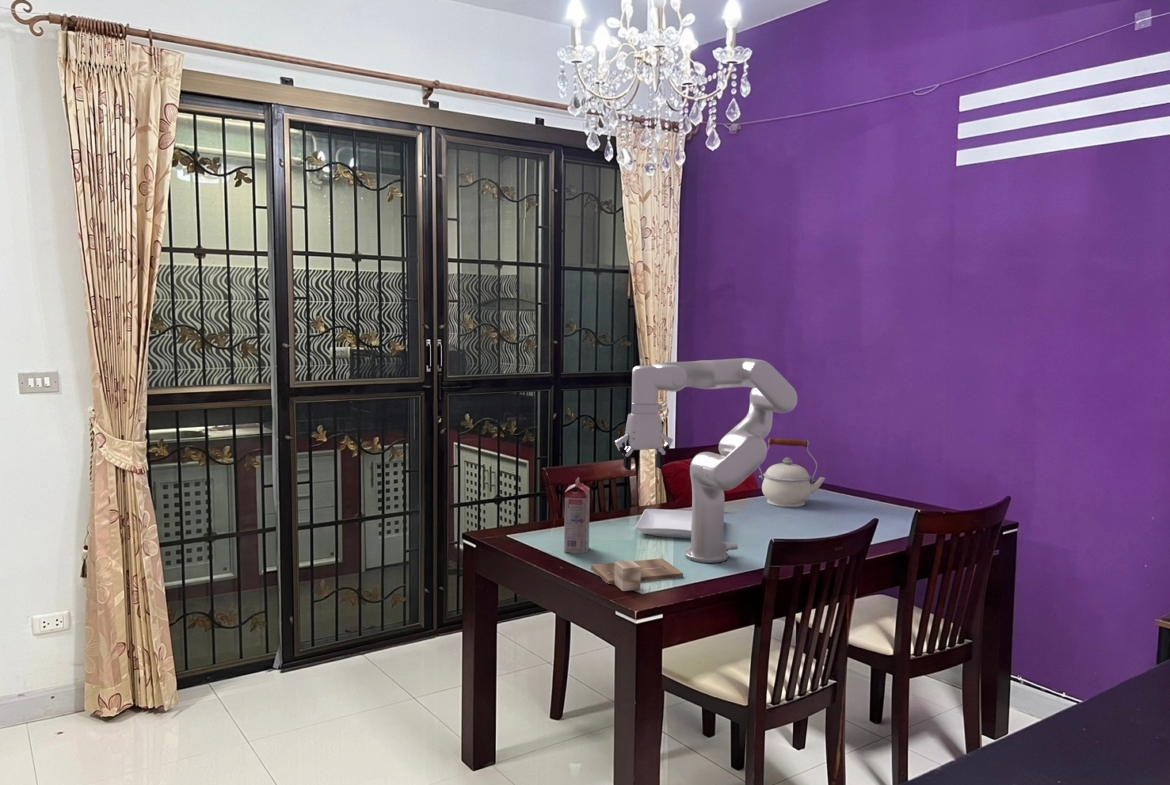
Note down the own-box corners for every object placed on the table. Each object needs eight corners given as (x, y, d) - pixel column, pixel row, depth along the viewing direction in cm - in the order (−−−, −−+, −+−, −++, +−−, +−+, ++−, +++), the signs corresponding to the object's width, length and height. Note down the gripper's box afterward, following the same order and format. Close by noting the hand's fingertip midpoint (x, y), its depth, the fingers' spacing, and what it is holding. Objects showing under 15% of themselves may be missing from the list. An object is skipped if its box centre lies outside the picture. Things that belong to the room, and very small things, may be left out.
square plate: (719, 544, 265) (719, 532, 264) (633, 538, 270) (634, 526, 270) (722, 522, 291) (722, 511, 291) (644, 517, 297) (645, 507, 296)
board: (662, 562, 244) (662, 558, 244) (682, 577, 231) (683, 572, 230) (591, 569, 237) (591, 564, 236) (608, 584, 223) (608, 580, 223)
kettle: (754, 506, 315) (757, 440, 312) (759, 495, 332) (761, 433, 330) (823, 511, 308) (826, 445, 305) (824, 500, 325) (827, 437, 322)
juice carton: (564, 552, 252) (565, 480, 250) (567, 546, 259) (568, 476, 256) (585, 553, 251) (586, 481, 249) (588, 547, 258) (589, 477, 256)
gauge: (623, 575, 231) (623, 553, 230) (640, 589, 219) (640, 567, 219) (606, 576, 229) (606, 555, 228) (622, 591, 218) (623, 568, 217)
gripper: (667, 406, 242) (665, 465, 244) (611, 408, 236) (610, 467, 238) (678, 410, 235) (676, 469, 237) (621, 411, 229) (620, 473, 231)
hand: (643, 468), depth 238 cm, fingers open, 9 cm apart
